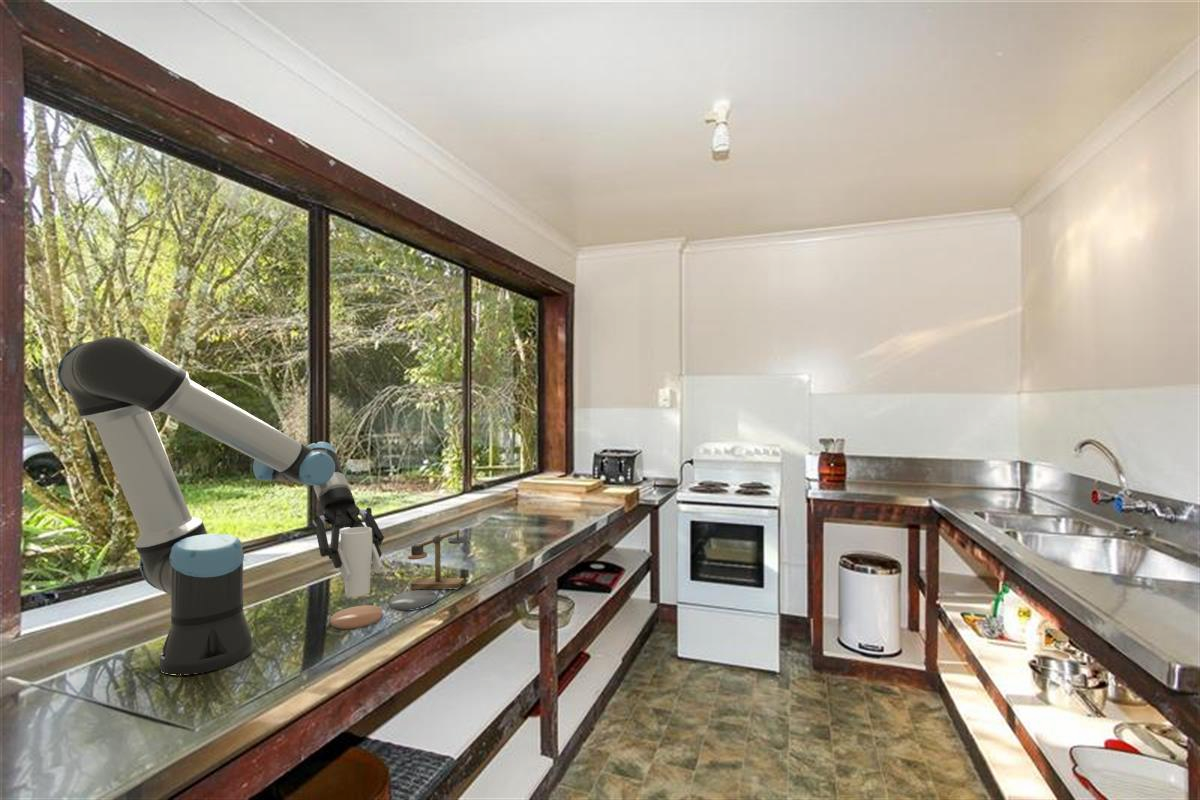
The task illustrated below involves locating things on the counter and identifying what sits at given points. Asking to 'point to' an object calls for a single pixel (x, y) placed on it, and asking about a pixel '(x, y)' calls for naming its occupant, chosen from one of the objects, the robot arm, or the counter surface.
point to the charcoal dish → (412, 599)
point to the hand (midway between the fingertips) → (363, 573)
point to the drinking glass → (357, 559)
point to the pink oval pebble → (356, 617)
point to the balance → (436, 563)
